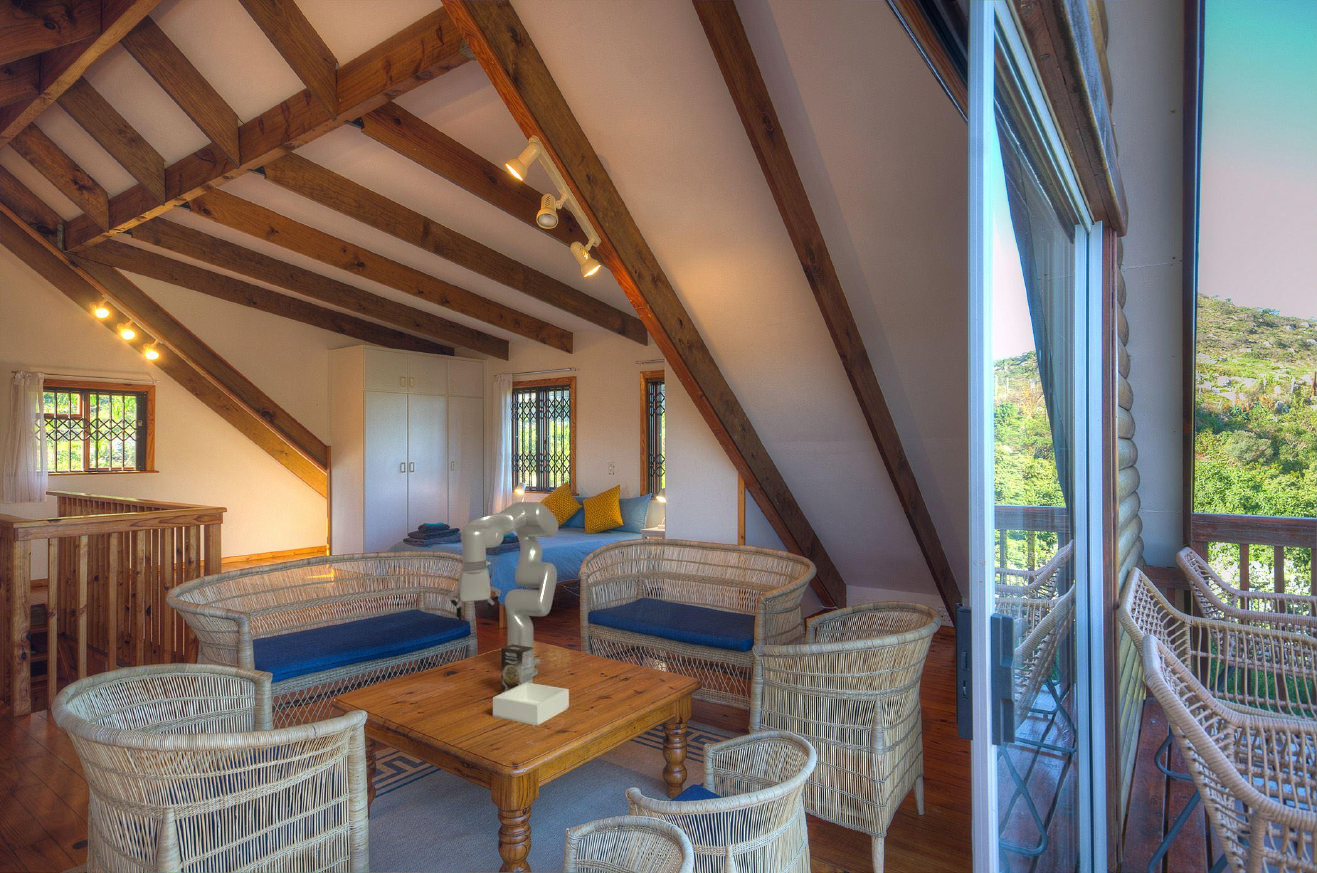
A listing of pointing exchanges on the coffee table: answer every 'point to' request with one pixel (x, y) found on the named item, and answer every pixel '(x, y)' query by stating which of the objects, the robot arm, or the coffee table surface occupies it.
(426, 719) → the coffee table surface
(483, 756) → the coffee table surface
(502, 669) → the coffee box
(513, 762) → the coffee table surface
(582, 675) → the coffee table surface
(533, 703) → the bin
